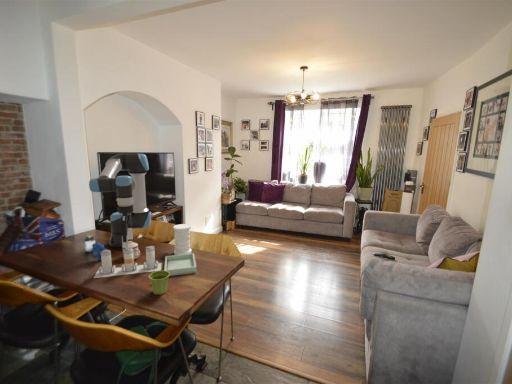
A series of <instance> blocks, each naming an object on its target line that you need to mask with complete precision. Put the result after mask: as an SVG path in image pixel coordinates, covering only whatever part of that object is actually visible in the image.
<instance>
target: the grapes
mask: <svg viewBox="0 0 512 384" xmlns="http://www.w3.org/2000/svg"><path fill="white" fill-rule="evenodd" d="M91 245H92V246H91V247H92V248H91V252H92V255H93V257H94V258H95V259H97V261H101V251H104V250H108V249H107V248H105V245H104V244H103V243H100V241H99V242H98V241H96V242H95V243H93V244H91Z"/></svg>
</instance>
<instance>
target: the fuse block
mask: <svg viewBox="0 0 512 384" xmlns="http://www.w3.org/2000/svg"><path fill="white" fill-rule="evenodd" d="M155 251H156V249H155V246H154V245H150V246H146V247H145V260H146V261H144V262H143V264H139V265H138V262H134V270H133V271H131V272H126V271H125V263H124V264H121V267H116V264H114V265H112V252H111V249H107V250H104V251H101V259H100V261H101V266H99V268H98V269H97V271H96V273H95V275H94V277H93V279H96V278H97V279H99V278H108V277H116V276H124V275H133V274H142V273H150V272H151V273H152V272H155V271H162V264H163V263H162V262H159V261H158V260H156V257H155V256H156V253H155Z"/></svg>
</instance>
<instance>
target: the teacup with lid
mask: <svg viewBox="0 0 512 384" xmlns="http://www.w3.org/2000/svg"><path fill="white" fill-rule="evenodd" d="M128 245H129V247H128V248H133V257H134V260H136V259H138V258H139V257H140V256H141V251H140V249H139V244H138V243H137V242H134V241H133V242H132V241H129V242H128ZM121 248H122V258H123V260H124V249H126V248H123V246H122V247H121Z"/></svg>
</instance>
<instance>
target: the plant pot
mask: <svg viewBox="0 0 512 384" xmlns="http://www.w3.org/2000/svg"><path fill="white" fill-rule="evenodd" d="M169 275H170V273H169V272H168V271H164V270H160V271H152V272H151V273H150V274H148V278H149V281H150V283H151V289H152V294H154V295H163V294H165V293H166V292H167V288H168V284H169V283H168V282H169V277H170V276H169Z"/></svg>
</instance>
